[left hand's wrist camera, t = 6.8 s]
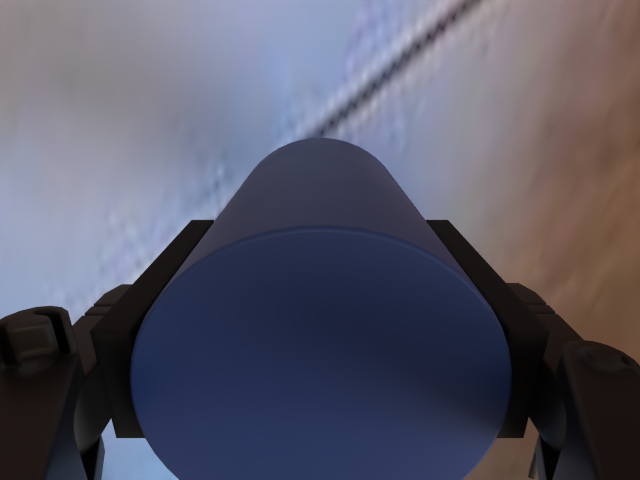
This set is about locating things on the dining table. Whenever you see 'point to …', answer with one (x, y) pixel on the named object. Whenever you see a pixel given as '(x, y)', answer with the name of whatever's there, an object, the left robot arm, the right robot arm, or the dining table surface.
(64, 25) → the dining table surface
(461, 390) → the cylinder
